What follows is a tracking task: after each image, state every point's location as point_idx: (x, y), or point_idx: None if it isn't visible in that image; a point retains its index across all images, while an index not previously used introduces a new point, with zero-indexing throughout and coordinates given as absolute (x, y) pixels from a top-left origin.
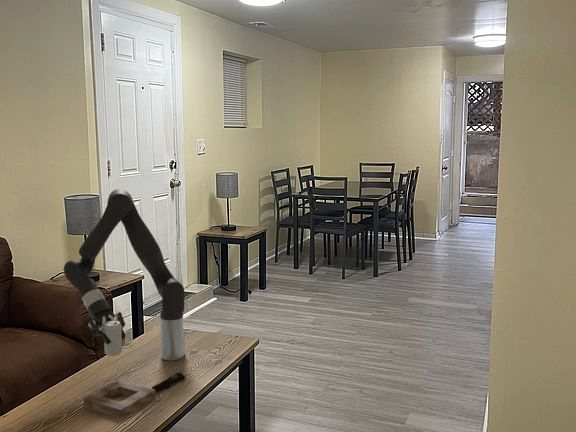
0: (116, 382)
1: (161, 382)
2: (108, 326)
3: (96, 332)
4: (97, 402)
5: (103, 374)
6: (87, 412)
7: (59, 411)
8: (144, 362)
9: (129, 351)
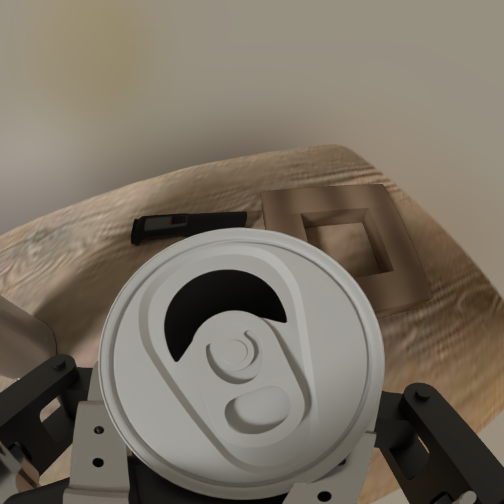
0: None
1: (210, 216)
2: (361, 302)
3: (402, 458)
4: (413, 248)
5: None
6: None
7: (464, 329)
8: None
9: None
